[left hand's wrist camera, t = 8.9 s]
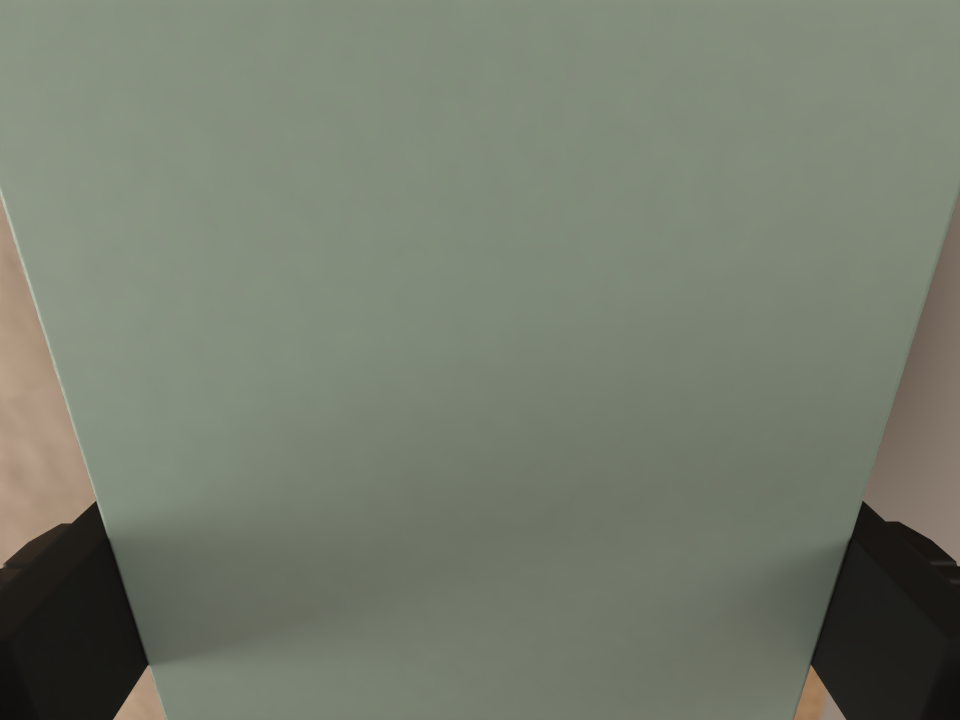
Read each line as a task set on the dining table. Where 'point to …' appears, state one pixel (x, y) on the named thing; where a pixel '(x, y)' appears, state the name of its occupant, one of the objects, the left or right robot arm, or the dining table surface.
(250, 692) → the cabinet
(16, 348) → the dining table surface
